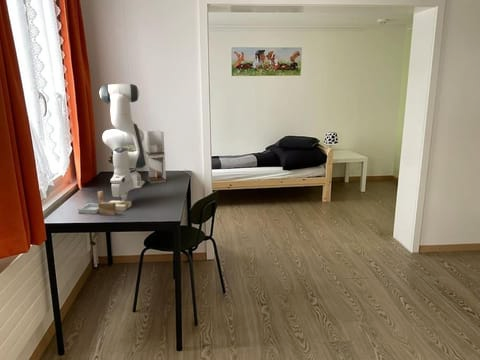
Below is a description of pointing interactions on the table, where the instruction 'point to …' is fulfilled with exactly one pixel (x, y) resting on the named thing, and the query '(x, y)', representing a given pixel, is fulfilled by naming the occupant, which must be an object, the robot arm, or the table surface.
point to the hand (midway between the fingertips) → (124, 200)
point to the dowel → (100, 196)
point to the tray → (89, 209)
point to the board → (122, 205)
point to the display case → (155, 156)
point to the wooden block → (107, 208)
